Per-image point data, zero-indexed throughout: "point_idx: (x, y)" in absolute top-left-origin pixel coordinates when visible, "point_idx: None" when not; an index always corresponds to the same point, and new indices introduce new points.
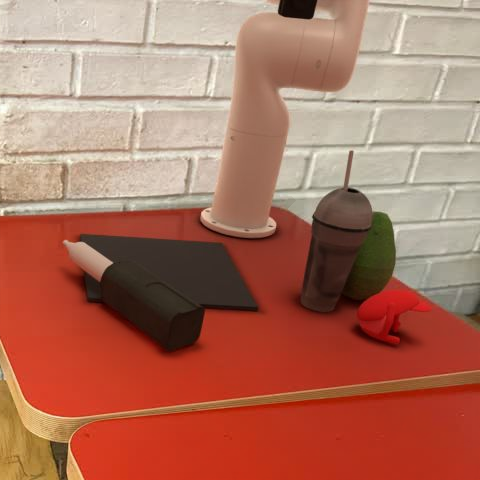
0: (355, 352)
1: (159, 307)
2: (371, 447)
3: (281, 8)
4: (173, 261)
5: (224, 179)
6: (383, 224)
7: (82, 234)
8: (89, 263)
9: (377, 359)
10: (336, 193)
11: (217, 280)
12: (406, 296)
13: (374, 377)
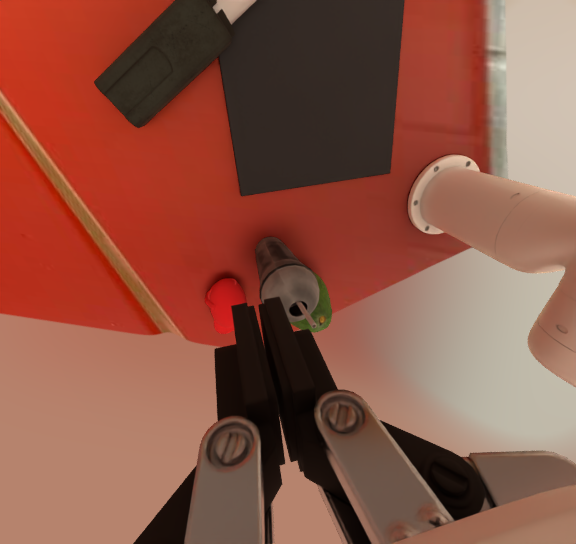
0: (185, 268)
1: (112, 65)
2: (24, 258)
3: (247, 310)
4: (334, 110)
5: (474, 182)
6: (302, 325)
7: None
8: None
9: (179, 283)
10: (293, 294)
11: (293, 159)
12: (222, 320)
13: (146, 276)
